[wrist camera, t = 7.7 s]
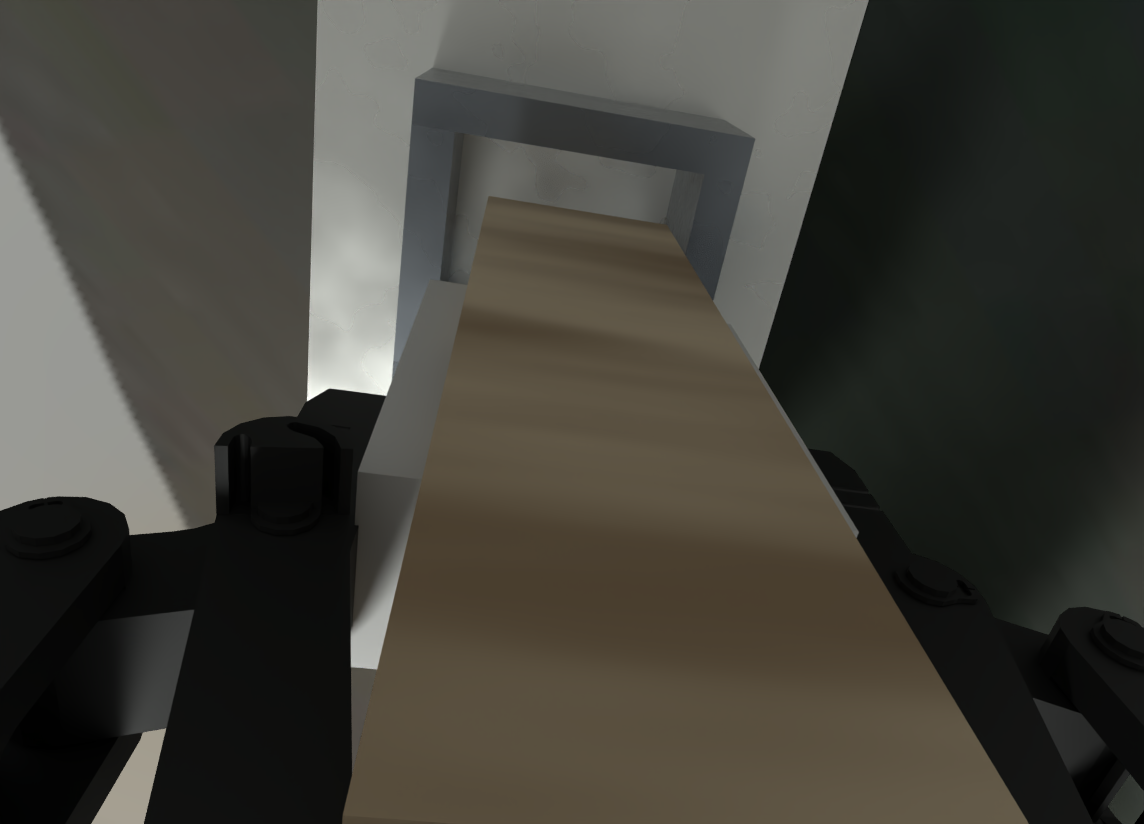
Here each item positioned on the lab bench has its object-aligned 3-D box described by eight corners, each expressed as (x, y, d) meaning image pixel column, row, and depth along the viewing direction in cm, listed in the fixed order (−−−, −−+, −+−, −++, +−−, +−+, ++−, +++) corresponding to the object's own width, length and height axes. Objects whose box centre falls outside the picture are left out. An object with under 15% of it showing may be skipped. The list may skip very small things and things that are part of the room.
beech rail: (631, 385, 20) (834, 1186, 6) (468, 362, 19) (319, 1176, 6) (666, 224, 18) (1054, 866, 5) (488, 195, 18) (342, 816, 4)
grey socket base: (714, 481, 29) (744, 559, 25) (313, 431, 27) (275, 505, 23) (861, -21, 22) (935, -27, 18) (330, -129, 20) (279, -163, 16)
